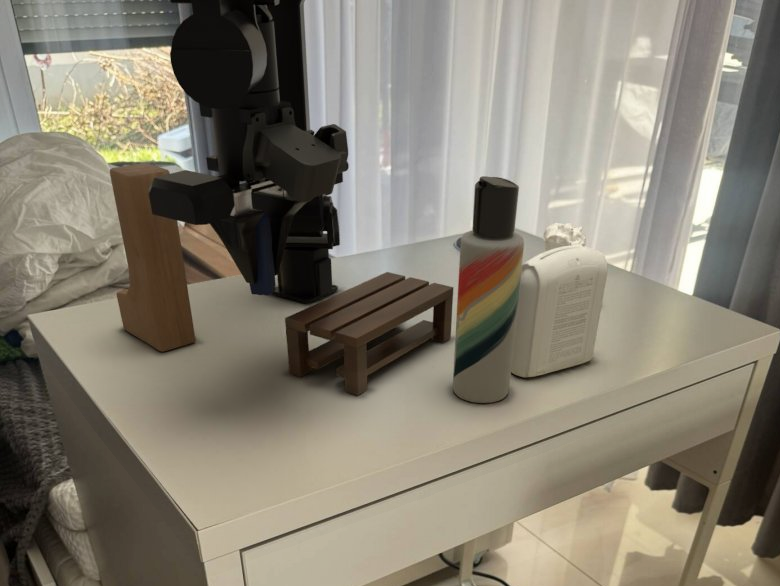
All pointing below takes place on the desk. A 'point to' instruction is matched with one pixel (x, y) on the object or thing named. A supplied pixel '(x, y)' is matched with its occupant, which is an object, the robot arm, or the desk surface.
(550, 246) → the bust
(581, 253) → the photo printer
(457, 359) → the lotion bottle
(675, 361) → the desk surface
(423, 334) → the rack
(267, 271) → the eraser
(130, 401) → the desk surface
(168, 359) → the desk surface
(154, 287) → the wooden block
